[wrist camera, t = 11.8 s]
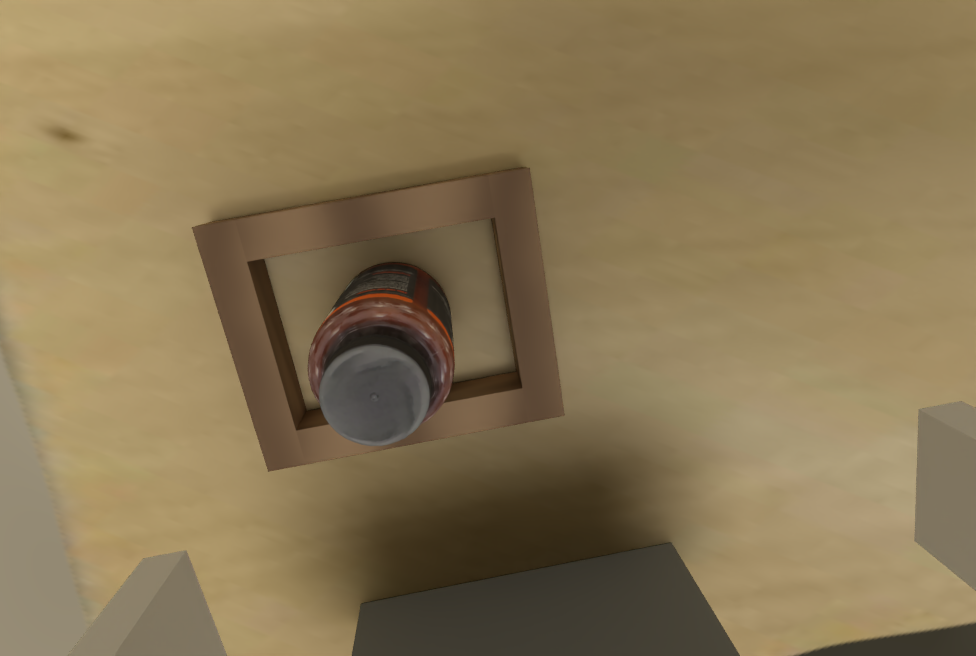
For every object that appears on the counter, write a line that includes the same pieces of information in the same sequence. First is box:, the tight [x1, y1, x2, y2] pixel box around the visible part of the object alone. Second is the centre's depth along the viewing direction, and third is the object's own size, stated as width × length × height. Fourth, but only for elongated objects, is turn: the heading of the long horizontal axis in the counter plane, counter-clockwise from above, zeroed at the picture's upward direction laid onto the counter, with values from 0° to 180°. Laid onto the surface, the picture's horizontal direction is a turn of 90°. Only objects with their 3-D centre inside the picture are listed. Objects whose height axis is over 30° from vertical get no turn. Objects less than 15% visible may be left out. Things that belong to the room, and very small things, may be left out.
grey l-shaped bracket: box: [352, 543, 740, 656], centre depth 27 cm, size 20×9×18 cm, turn 99°
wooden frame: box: [192, 167, 564, 472], centre depth 30 cm, size 16×13×2 cm
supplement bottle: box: [308, 263, 455, 446], centre depth 26 cm, size 6×6×11 cm
